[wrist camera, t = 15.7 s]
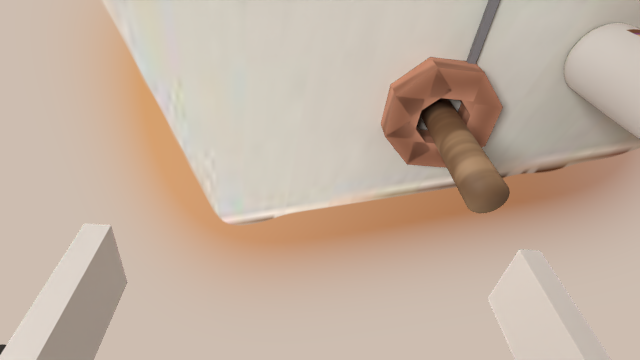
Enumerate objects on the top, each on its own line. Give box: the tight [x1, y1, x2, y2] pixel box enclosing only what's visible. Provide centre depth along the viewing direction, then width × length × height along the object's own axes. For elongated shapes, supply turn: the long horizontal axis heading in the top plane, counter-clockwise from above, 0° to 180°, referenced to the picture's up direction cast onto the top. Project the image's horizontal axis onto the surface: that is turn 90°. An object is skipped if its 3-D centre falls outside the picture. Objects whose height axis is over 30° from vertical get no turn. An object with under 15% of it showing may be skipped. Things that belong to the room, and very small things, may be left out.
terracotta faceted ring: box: [381, 57, 503, 168], centre depth 44 cm, size 12×12×3 cm
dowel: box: [420, 98, 509, 213], centre depth 39 cm, size 4×4×16 cm
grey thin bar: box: [467, 0, 500, 64], centre depth 38 cm, size 10×1×1 cm, turn 173°
